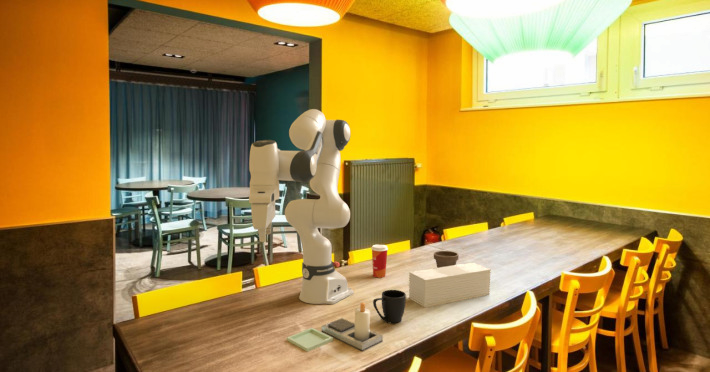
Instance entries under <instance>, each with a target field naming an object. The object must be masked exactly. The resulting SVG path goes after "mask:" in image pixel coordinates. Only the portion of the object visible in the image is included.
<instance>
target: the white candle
mask: <svg viewBox="0 0 710 372" xmlns="http://www.w3.org/2000/svg"><path fill="white" fill-rule="evenodd" d="M370 320H371V310H370V309H368V308H366V303H365V302H360V308H357V309H355V310H354V323H355V327H354V339H356V340H358V341H361V342H364V341H366V340H368V339H369V330H371V328H370V325H371V321H370Z"/></svg>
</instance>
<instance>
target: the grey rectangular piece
mask: <svg viewBox="0 0 710 372" xmlns="http://www.w3.org/2000/svg"><path fill="white" fill-rule="evenodd" d="M354 327H355V322H352V321H350V320H348V319H346V318H343V317H341V318H339V319H336V320H333V321H331V322H328V323H325V324H323V325H321V332H322V333H324V334H326V335H329V336H331V337H333V339H335V340H338V341H340V342H342V343H344V344H346V345H348V346H350V347H352V348H354V349H357V350H358V351H360V352H365V351H366V350H368V349H371V348H372V347H374V346H376V345H378V344H380V343H383V340H384V339H383V338H384V336H383V335H382V334H381V333H378V332H376V331H373V330H371V329H369V339H368V340H366V341H364V342H361V341H358V340H356V339H354Z"/></svg>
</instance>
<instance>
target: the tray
mask: <svg viewBox="0 0 710 372" xmlns="http://www.w3.org/2000/svg"><path fill="white" fill-rule="evenodd" d="M286 341H287V342H289V343H290V344H292V345H294V346H295V347H298V348H300V349H302V350H304V351H305V352H307V353H309V352H311V351H313V350H315V349H317V348H320V347H322V346H324V345H326V344H328V343H331V342H333V341H334V338H333V337H331V336H329V335H327V334H325V333H323V332H322V331H320V330H318V329H316V328H313V327H310V328H308V329H307V328H306V329H305V330H303V331H299V332H297V333H294V334H292V335H290V336H287V337H286Z"/></svg>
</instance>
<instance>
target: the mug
mask: <svg viewBox="0 0 710 372" xmlns="http://www.w3.org/2000/svg"><path fill="white" fill-rule="evenodd" d="M406 297H407V295H406V292H404V291H402V290H399V289H389V290H388V289H387V290H384V291H382V292H381V297H378V298H374V299H373V300H372V305H373V307H374V310H375V311H376V313H377V314H378V316H379V317H380V319H381V320H382V321H384V322H386V323H388V324H391V325H392V324H393V325H394V324H400V323H401V322H402V319H403V317H404V313H405V309H406V302H407V301H406V300H407V299H406ZM378 301H381V308H382V313H383V315H382V314H381V312H380V311H379V308H378V307H377V302H378Z"/></svg>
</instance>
